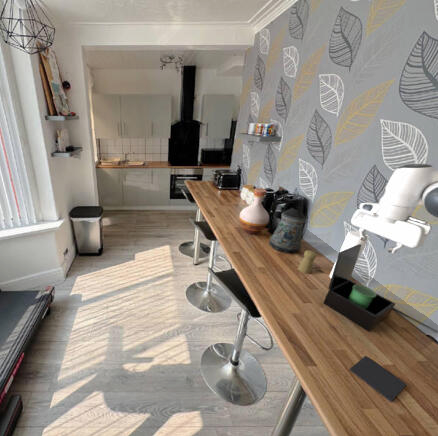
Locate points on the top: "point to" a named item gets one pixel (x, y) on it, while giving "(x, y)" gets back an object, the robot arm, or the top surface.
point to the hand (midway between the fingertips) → (376, 246)
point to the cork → (307, 262)
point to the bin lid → (344, 266)
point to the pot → (362, 296)
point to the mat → (378, 378)
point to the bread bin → (355, 313)
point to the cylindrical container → (352, 244)
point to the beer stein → (288, 231)
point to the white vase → (255, 214)
